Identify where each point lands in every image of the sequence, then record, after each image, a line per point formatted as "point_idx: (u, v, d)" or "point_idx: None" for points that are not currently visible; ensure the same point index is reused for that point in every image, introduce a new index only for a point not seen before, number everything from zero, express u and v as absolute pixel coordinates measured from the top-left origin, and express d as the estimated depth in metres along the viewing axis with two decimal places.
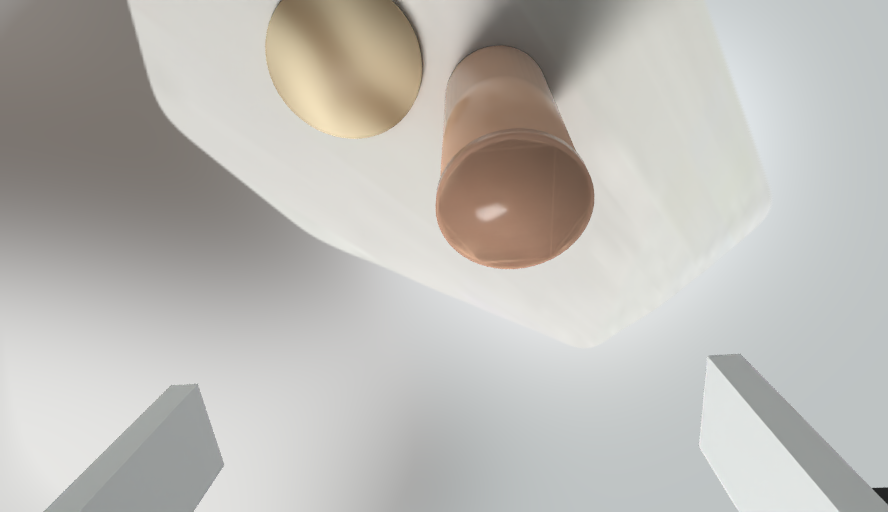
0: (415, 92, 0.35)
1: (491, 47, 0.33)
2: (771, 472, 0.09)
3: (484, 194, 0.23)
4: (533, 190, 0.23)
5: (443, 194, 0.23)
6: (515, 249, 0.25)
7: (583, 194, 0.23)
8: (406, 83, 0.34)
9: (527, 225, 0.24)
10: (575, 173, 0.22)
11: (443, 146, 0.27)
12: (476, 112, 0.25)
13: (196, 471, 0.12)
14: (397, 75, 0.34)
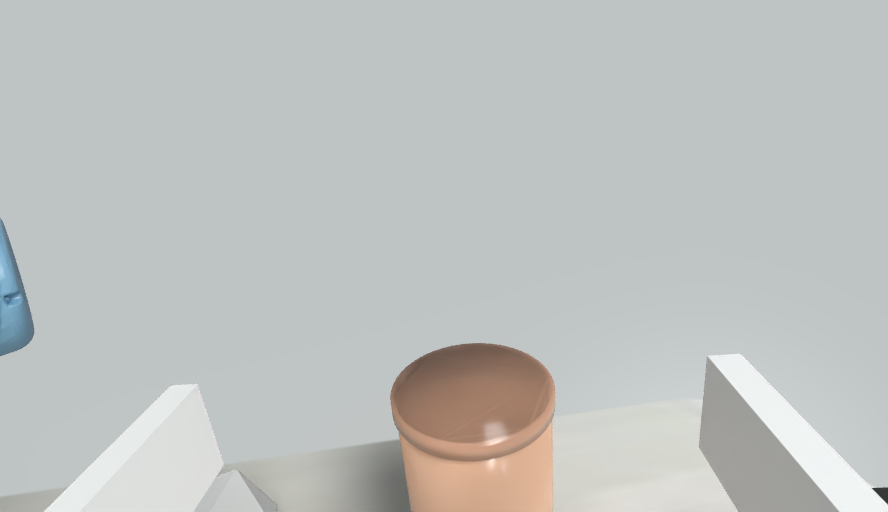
0: None
1: None
2: (771, 473, 0.09)
3: (440, 400, 0.22)
4: (460, 372, 0.24)
5: (417, 428, 0.20)
6: (523, 395, 0.22)
7: (484, 348, 0.26)
8: None
9: (496, 382, 0.23)
10: (460, 349, 0.26)
11: None
12: None
13: (196, 471, 0.12)
14: None
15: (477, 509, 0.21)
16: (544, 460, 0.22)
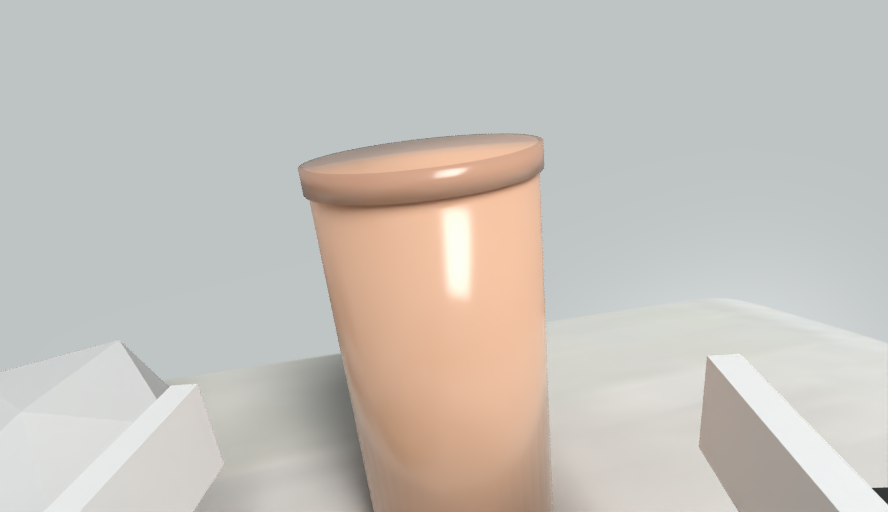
0: None
1: None
2: (771, 472, 0.09)
3: (372, 159, 0.15)
4: (407, 147, 0.17)
5: (328, 172, 0.13)
6: (496, 146, 0.14)
7: (445, 137, 0.19)
8: None
9: (458, 146, 0.16)
10: (413, 141, 0.19)
11: (354, 338, 0.15)
12: None
13: (196, 471, 0.12)
14: None
15: (425, 300, 0.13)
16: (530, 240, 0.14)
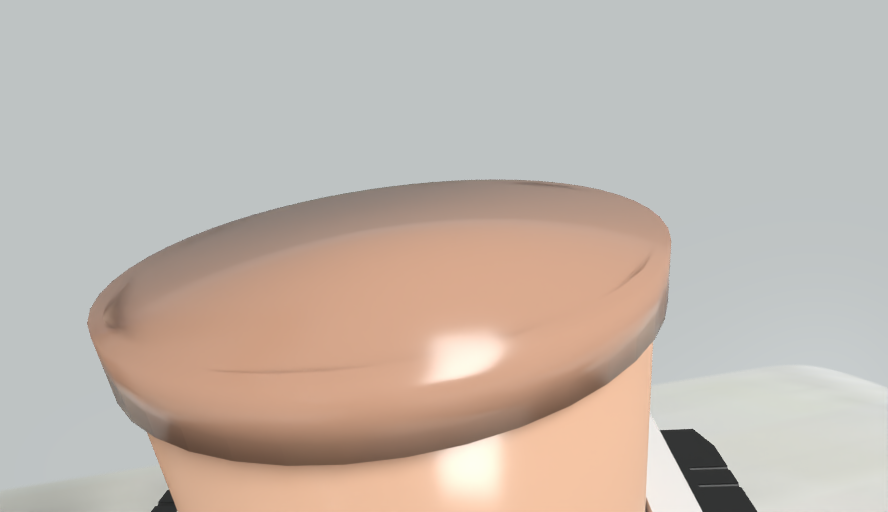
0: None
1: None
2: None
3: (277, 263, 0.07)
4: (369, 216, 0.08)
5: (129, 332, 0.05)
6: (558, 236, 0.06)
7: (444, 185, 0.10)
8: None
9: (469, 222, 0.07)
10: (387, 191, 0.10)
11: None
12: None
13: None
14: None
15: None
16: (640, 459, 0.06)
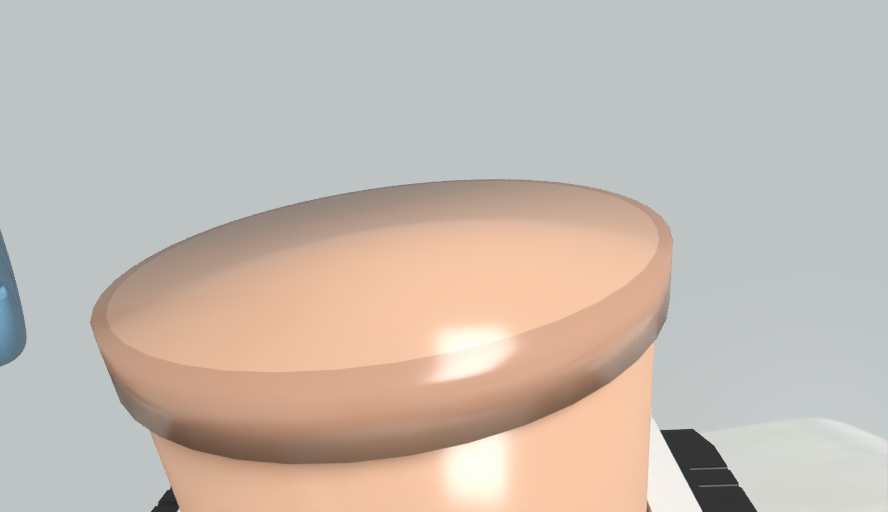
0: None
1: None
2: None
3: (280, 262, 0.07)
4: (370, 215, 0.09)
5: (133, 331, 0.05)
6: (560, 235, 0.06)
7: (445, 185, 0.10)
8: None
9: (471, 221, 0.07)
10: (388, 190, 0.10)
11: None
12: None
13: None
14: None
15: None
16: (641, 459, 0.06)
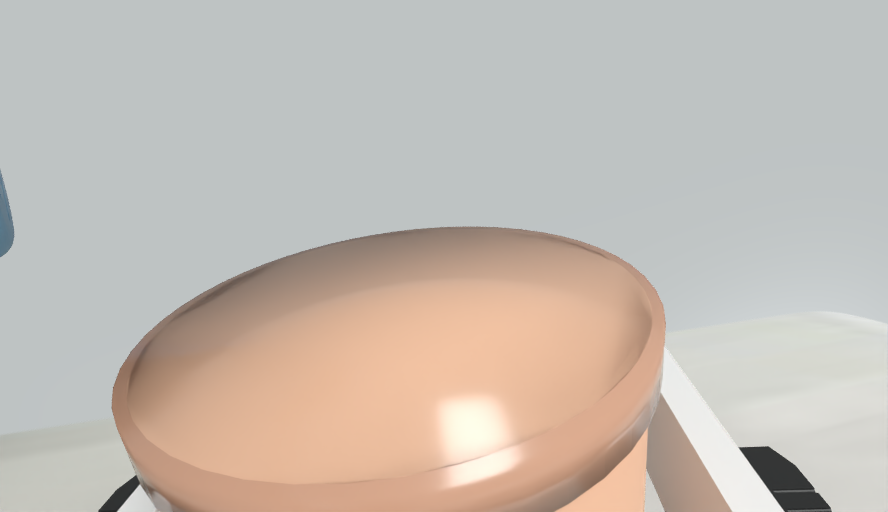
0: None
1: None
2: (666, 436, 0.10)
3: (289, 334, 0.07)
4: (375, 273, 0.09)
5: (153, 423, 0.05)
6: (558, 311, 0.07)
7: (447, 233, 0.11)
8: None
9: (473, 286, 0.08)
10: (391, 238, 0.11)
11: None
12: None
13: None
14: None
15: None
16: None
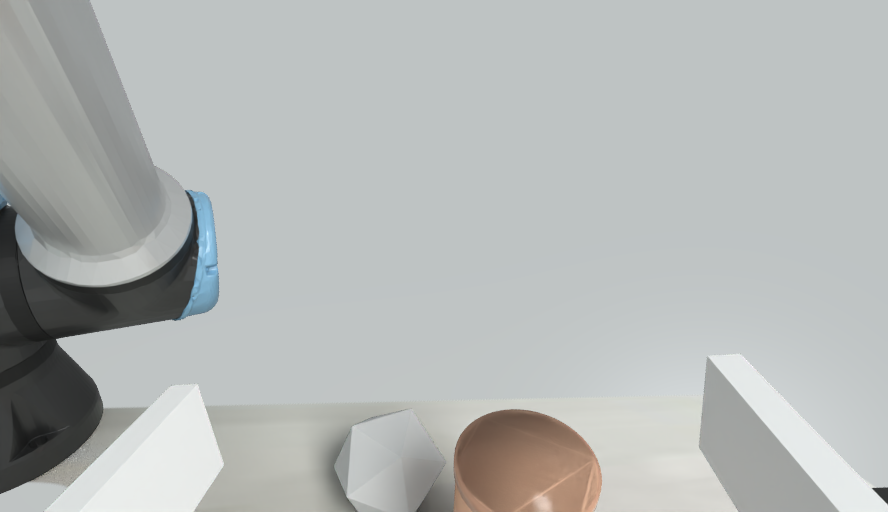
0: None
1: None
2: (771, 473, 0.09)
3: (500, 473, 0.25)
4: (514, 442, 0.27)
5: (483, 502, 0.23)
6: (574, 479, 0.25)
7: (534, 417, 0.29)
8: None
9: (549, 459, 0.26)
10: (512, 415, 0.29)
11: None
12: None
13: (196, 471, 0.12)
14: None
15: None
16: None
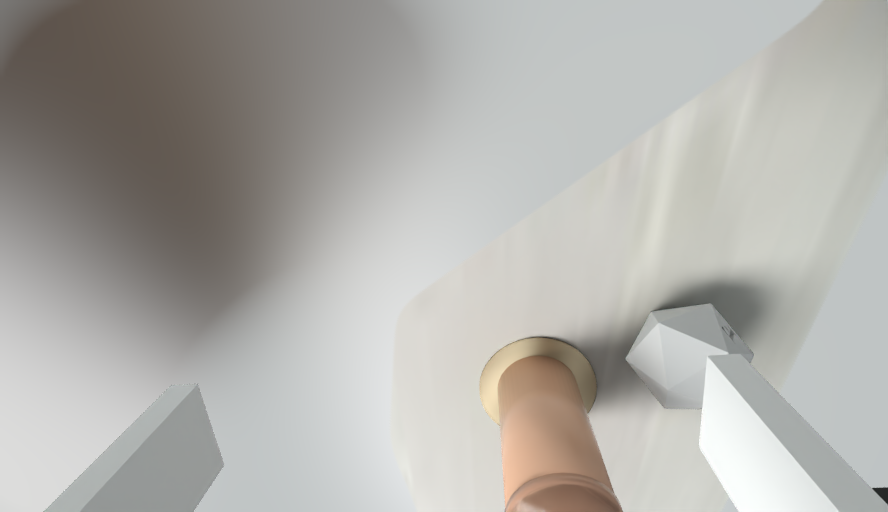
0: None
1: (564, 365, 0.44)
2: (771, 472, 0.09)
3: (559, 509, 0.31)
4: None
5: (538, 491, 0.30)
6: None
7: None
8: None
9: None
10: None
11: (529, 433, 0.35)
12: (572, 440, 0.34)
13: (196, 471, 0.12)
14: None
15: (507, 470, 0.34)
16: None
